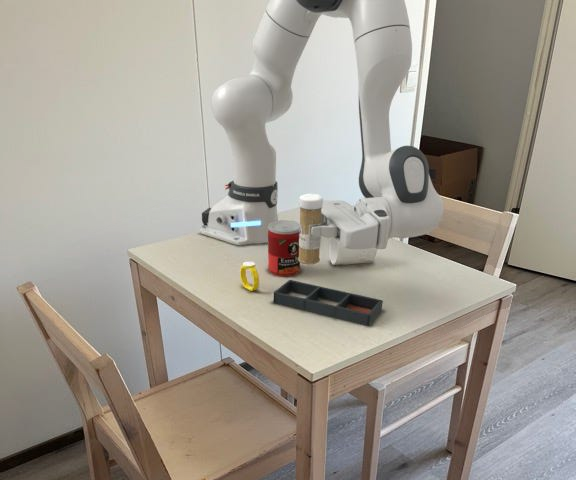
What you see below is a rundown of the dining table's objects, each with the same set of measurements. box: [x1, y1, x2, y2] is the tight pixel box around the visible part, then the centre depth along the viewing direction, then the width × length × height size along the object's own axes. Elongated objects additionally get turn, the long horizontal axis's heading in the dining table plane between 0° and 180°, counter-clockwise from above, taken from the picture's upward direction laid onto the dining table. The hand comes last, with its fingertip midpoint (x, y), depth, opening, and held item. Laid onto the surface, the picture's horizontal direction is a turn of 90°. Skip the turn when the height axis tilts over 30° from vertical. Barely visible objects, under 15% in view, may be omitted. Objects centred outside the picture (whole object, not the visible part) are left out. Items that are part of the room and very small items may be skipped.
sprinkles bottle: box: [298, 193, 324, 266], centre depth 120 cm, size 5×5×13 cm
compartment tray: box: [273, 279, 384, 327], centre depth 127 cm, size 22×8×2 cm, turn 63°
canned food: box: [267, 219, 301, 277], centre depth 141 cm, size 8×8×11 cm
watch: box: [239, 261, 260, 292], centre depth 133 cm, size 6×3×6 cm, turn 35°
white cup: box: [328, 237, 378, 266], centre depth 146 cm, size 8×8×10 cm
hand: (306, 226), depth 120 cm, fingers closed on sprinkles bottle, 4 cm apart
